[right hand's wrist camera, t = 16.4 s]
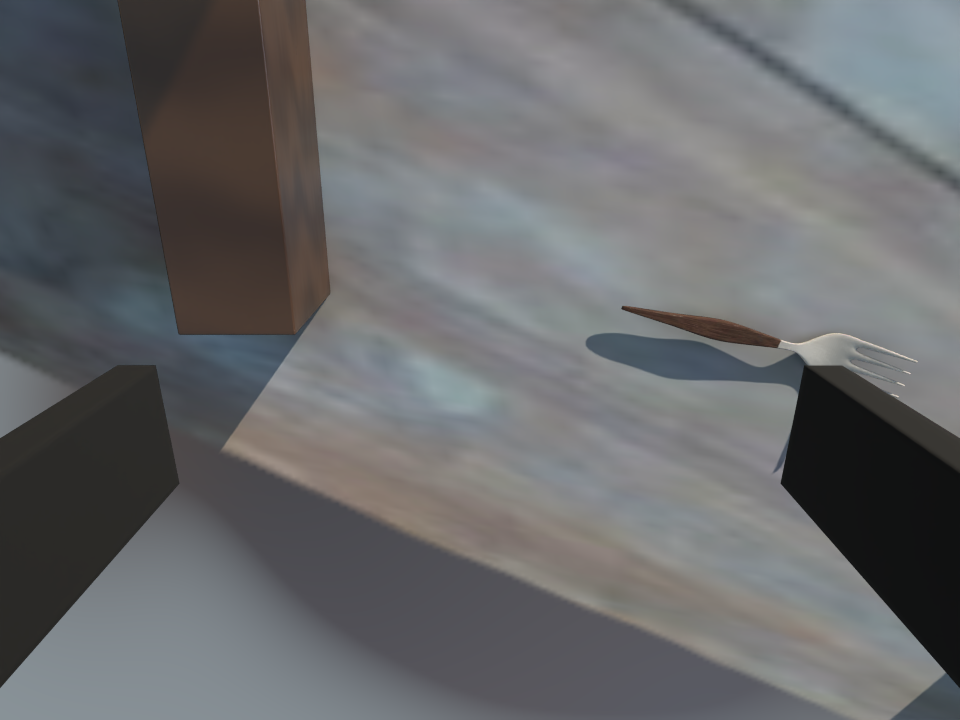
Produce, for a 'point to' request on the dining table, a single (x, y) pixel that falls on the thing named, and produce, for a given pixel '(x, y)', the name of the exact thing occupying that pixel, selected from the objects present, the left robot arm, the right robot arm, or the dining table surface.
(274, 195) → the plank
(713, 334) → the fork
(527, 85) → the dining table surface
